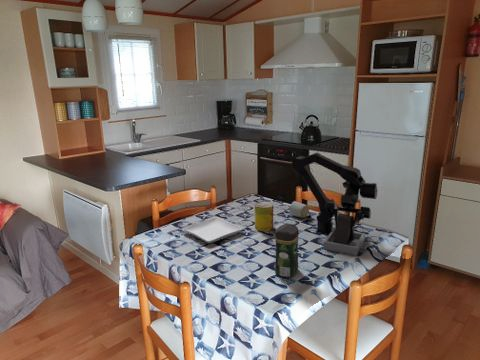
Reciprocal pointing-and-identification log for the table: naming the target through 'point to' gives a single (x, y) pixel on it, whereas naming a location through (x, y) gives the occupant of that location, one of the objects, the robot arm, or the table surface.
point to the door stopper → (344, 230)
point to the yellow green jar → (264, 216)
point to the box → (347, 249)
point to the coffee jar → (286, 250)
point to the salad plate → (213, 229)
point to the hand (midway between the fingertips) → (343, 227)
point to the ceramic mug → (299, 209)
